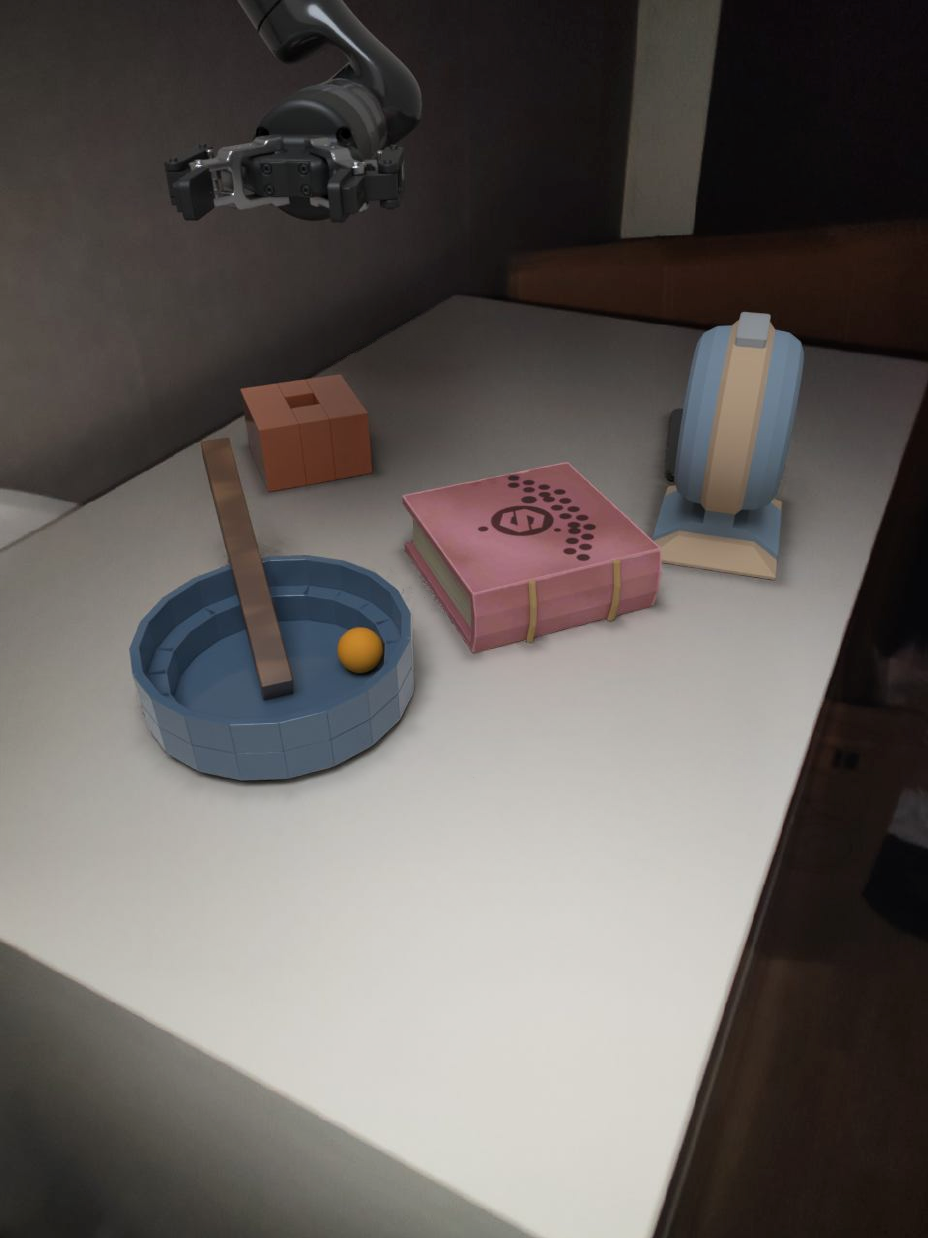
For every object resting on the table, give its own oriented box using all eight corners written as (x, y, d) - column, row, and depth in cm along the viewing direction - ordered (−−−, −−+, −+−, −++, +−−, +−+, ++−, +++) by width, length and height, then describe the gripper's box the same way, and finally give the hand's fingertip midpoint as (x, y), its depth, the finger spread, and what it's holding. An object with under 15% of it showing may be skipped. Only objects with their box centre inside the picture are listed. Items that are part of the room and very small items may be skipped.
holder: (268, 492, 82) (258, 430, 78) (249, 447, 89) (239, 388, 85) (372, 473, 84) (368, 412, 81) (346, 431, 92) (340, 373, 88)
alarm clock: (669, 483, 82) (696, 282, 72) (781, 498, 80) (827, 292, 69) (645, 566, 71) (673, 344, 61) (774, 587, 69) (827, 359, 58)
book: (477, 660, 62) (477, 601, 59) (404, 549, 74) (401, 495, 71) (659, 612, 66) (668, 554, 63) (564, 514, 78) (567, 461, 75)
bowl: (162, 820, 51) (142, 757, 48) (137, 643, 64) (121, 585, 61) (450, 742, 56) (449, 680, 53) (373, 592, 69) (368, 536, 66)
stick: (261, 687, 57) (200, 440, 65) (263, 700, 58) (203, 458, 67) (293, 680, 57) (228, 436, 66) (293, 693, 59) (230, 454, 67)
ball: (385, 652, 58) (352, 684, 59) (397, 649, 61) (366, 680, 61) (353, 618, 58) (321, 650, 59) (367, 617, 61) (336, 647, 62)
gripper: (212, 88, 62) (121, 126, 49) (418, 88, 61) (381, 128, 48) (229, 205, 67) (151, 269, 54) (422, 207, 66) (389, 273, 53)
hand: (260, 202), depth 51 cm, fingers open, 8 cm apart
